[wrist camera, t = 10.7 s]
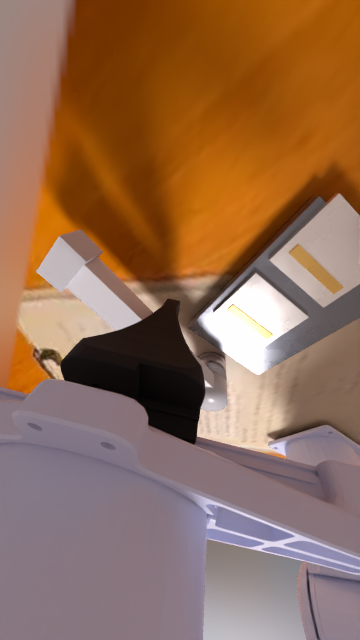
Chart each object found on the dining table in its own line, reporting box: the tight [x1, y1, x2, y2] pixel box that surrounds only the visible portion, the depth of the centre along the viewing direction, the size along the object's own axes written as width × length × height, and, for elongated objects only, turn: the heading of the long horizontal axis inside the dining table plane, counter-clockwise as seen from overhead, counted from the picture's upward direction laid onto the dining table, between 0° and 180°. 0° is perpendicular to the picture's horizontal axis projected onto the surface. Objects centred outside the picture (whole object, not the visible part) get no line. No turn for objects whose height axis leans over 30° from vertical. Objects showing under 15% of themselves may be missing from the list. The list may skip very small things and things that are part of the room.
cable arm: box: [36, 230, 227, 411], centre depth 13 cm, size 16×3×2 cm, turn 41°
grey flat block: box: [188, 193, 360, 380], centre depth 14 cm, size 8×15×2 cm, turn 145°
